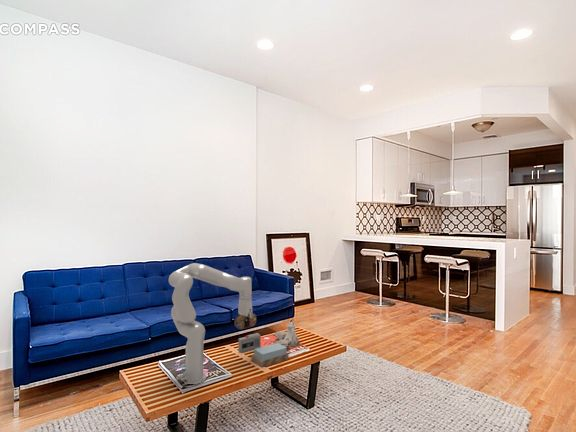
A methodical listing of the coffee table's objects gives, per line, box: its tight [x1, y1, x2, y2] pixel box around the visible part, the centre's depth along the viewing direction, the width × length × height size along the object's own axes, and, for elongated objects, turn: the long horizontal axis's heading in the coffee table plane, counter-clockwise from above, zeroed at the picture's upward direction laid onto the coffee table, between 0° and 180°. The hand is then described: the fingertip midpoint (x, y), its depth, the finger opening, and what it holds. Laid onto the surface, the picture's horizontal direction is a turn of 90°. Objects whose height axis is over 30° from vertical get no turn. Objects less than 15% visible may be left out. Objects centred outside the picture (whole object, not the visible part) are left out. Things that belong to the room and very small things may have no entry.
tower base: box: [250, 352, 290, 368], centre depth 214 cm, size 20×12×4 cm, turn 127°
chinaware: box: [275, 321, 300, 347], centre depth 241 cm, size 28×17×17 cm, turn 10°
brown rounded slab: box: [234, 312, 258, 330], centre depth 213 cm, size 15×3×8 cm, turn 128°
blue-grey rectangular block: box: [253, 342, 288, 361], centre depth 214 cm, size 18×10×4 cm, turn 126°
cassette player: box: [237, 332, 262, 354], centre depth 230 cm, size 16×3×10 cm, turn 128°
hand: (245, 326), depth 213 cm, fingers closed on brown rounded slab, 2 cm apart
